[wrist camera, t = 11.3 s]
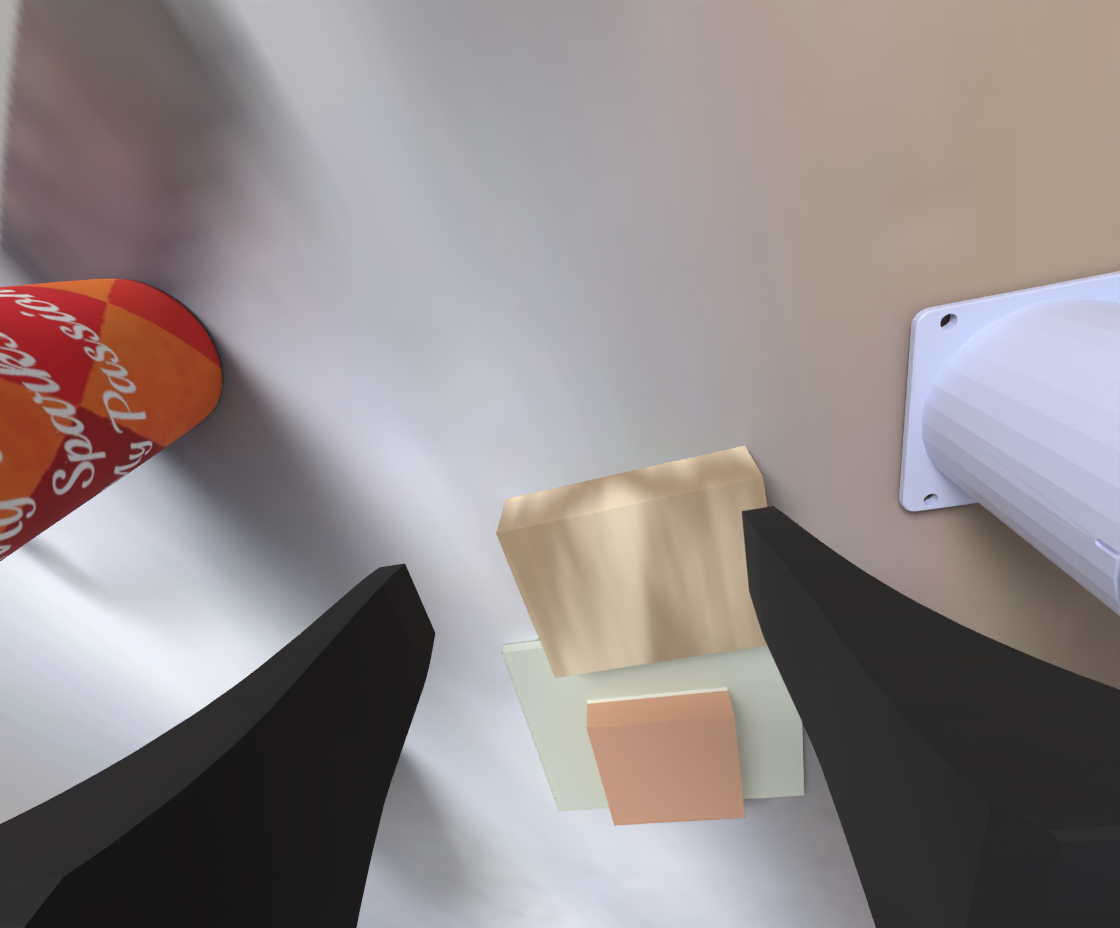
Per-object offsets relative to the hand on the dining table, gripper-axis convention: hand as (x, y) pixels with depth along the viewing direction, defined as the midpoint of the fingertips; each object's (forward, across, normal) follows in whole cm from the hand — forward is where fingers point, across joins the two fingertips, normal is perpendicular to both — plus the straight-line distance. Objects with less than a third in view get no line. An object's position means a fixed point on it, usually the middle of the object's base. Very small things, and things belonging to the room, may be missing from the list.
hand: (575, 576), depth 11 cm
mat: (+10, 0, +18) cm, 21 cm away
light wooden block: (+9, +4, +8) cm, 13 cm away
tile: (+9, 0, +16) cm, 18 cm away
